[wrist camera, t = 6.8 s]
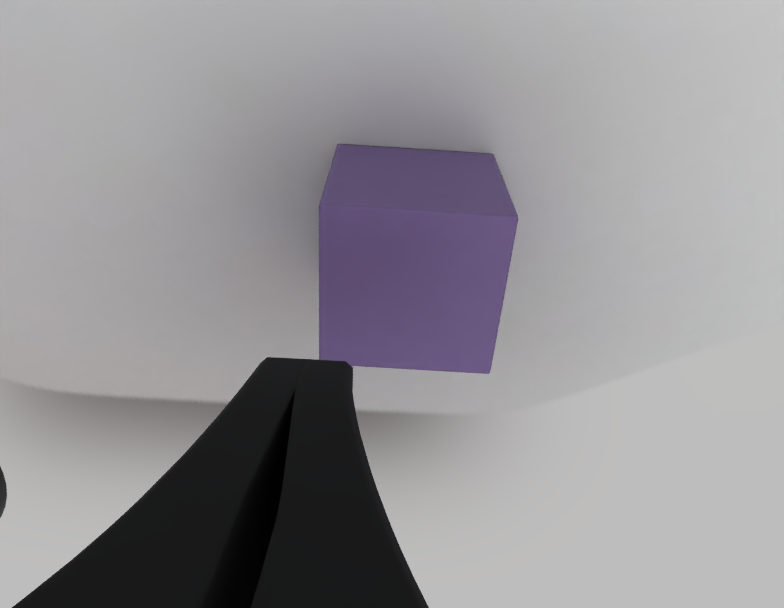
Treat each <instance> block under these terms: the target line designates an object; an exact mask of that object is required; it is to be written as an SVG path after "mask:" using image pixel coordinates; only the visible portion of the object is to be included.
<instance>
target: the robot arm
mask: <svg viewBox="0 0 784 608" xmlns="http://www.w3.org/2000/svg"><path fill="white" fill-rule="evenodd" d="M352 387H353V367H351V366H350V365H349V364H348V363H347V362H346V361H332V360H312V359H292V358H271V357H267V358H266V359H265V360H264V361H262V362H261V363H260V364H259V366H258V367H257V368H256V370H255V371H254V372H253V374H252V375H251V376H250V377H249V379H248V380H247V381H246V383H245V384H244V385H243V386H242V388H241V389H240V390H239V391H238V393H237V394H236V395H235V396H234V398H233V399H232V400H231V401H230V402H229V404H228V405H227V406H226V407H225V409H224V410H223V411H222V412H221V413H220V414H219V416H218V417H217V418H216V419H215V420H214V421H213V422H212V423H211V425H210V426H209V427H208V428H207V429H206V430H205V432H204V433H203V434H202V435H201V436H200V437H199V438H198V439H197V440H196V442H195V443H194V444H193V445H192V446H191V447H190V448H189V449H188V450H187V452H186V453H185V454H184V455H183V456H182V457H181V458H180V459H179V460H178V461H177V462H176V463H175V464H174V465H173V466H172V467H171V468H170V469H169V470H168V471H167V472H166V473H165V474H164V475H163V476H162V477H161V478H160V479H159V480H158V481H157V482H156V483H155V484H154V485H153V486H152V487H151V488H150V490H148V491H147V492H146V493H145V494H144V495H143V497H142V498H140V499H139V500H138V501H137V502H136V503H135V504H134V505H133V506H132V507H131V508H130V509H129V510H128V511H127V512H126V513H125V514H124V515H122V516H121V517H120V518H119V519H118V520H117V521H116V522H115V523H114V524H113V525H112V526H110V527H109V528H108V529H107V530H106V531H105V532H104V533H102V534H101V535H100V536H99V537H98V538H97V539H96V540H94V541H93V542H92V543H91V544H90V545H89V546H87V547H86V548H85V549H84V550H83V551H82V552H81V553H79V554H78V555H77V556H76V557H75V558H73V560H71V561H70V562H69V563H67V564H66V565H65V566H64V567H63V568H61V569H60V570H59V571H57V572H56V573H55V574H54V575H52V576H51V577H50V578H49V579H48V580H46V581H45V582H44V583H42V584H41V585H40V586H39V587H38V588H36V589H35V590H34V591H33V592H31V593H30V594H29V595H27V596H26V597H25V598H24V599H22V600H21V601H20V602H19V603H17V604H16V605H15V606H13V607H12V608H429V607H428V605H427V604H426V601H425V599H424V597H423V595H422V593H421V591H420V589H419V587H418V585H417V583H416V581H415V579H414V577H413V575H412V573H411V571H410V568H409V566H408V564H407V562H406V560H405V557H404V555H403V553H402V551H401V549H400V547H399V544H398V542H397V539H396V537H395V535H394V532H393V530H392V528H391V525H390V522H389V520H388V517H387V515H386V512H385V509H384V507H383V504H382V501H381V499H380V496H379V493H378V491H377V488H376V485H375V482H374V479H373V476H372V473H371V470H370V467H369V463H368V460H367V456H366V453H365V449H364V446H363V442H362V439H361V435H360V431H359V427H358V422H357V418H356V412H355V407H354V400H353V393H352Z"/></svg>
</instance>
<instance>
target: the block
mask: <svg viewBox="0 0 784 608" xmlns="http://www.w3.org/2000/svg"><path fill="white" fill-rule="evenodd" d="M517 222H518V215H517V213H516V210H515V208H514V205H513V203H512V200H511V198H510V195H509V193H508V190H507V187H506V185H505V182H504V180H503V177H502V175H501V172H500V170H499V167H498V165H497V162H496V159H495V157H494V155H493V154H484V153H468V152H453V151H437V150H422V149H406V148H391V147H376V146H360V145H345V144H338V145H337V148H336V152H335V155H334V158H333V161H332V165H331V168H330V171H329V174H328V178H327V181H326V184H325V188H324V191H323V194H322V197H321V201H320V204H319V360H332V361H346V362H347V363H348V364H349V365H350V366H365V367H382V368H399V369H416V370H433V371H450V372H467V373H484V374H489V373H490V370H491V365H492V359H493V354H494V348H495V343H496V337H497V332H498V326H499V321H500V316H501V310H502V305H503V299H504V294H505V288H506V283H507V277H508V272H509V266H510V261H511V255H512V250H513V244H514V239H515V233H516V228H517Z"/></svg>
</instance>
